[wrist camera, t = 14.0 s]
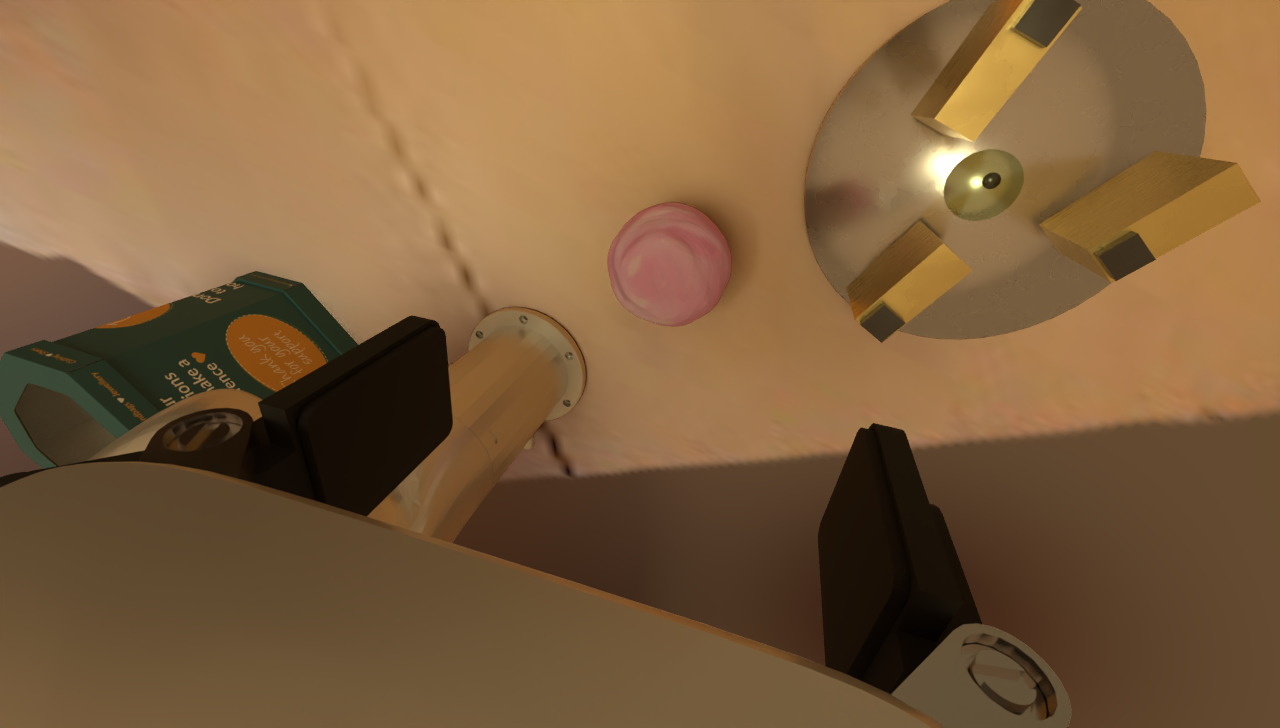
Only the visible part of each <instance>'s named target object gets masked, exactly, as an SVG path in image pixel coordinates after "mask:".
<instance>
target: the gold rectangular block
mask: <svg viewBox="0 0 1280 728" xmlns="http://www.w3.org/2000/svg"><path fill="white" fill-rule="evenodd" d="M1080 6H1081V4H1079V3H1077V2H1076V1H1074V0H997V1H994V2H992V3H991V4H990V5H989V7H988V8H987V9H986V11H985V12H984V13H983V15H982V16H981V18H980V19H979V20H978V22H977V23H976V25H975V26H974V27H973V29H972V30H971V31H970V33H969V34H968V36H967V37H966V38H965V40H964V41H963V43H962V44H961V45H960V47H959V48H958V49H957V51H956V52H955V54H954V55H953V56H952V58H951V59H950V61H949V62H948V63H947V65H946V66H945V67H944V69H943V70H942V72H941V73H940V74H939V76H938V77H937V79H936V80H935V81H934V83H933V84H932V85H931V87H930V88H929V90H928V91H927V92H926V94H925V95H924V97H923V98H922V99H921V101H920V102H919V103H918V105H917V106H916V108H915V109H914V110H913V112H912V113H911V116H913V117H914V118H916V119H918V120H920V121H921V122H923V123H925V124H926V125H928V126H930V127H931V128H933V129H935V130H936V131H938V132H940V133H941V134H944V135H947V136H951V137H955V138H959V139H963V140H967V141H971V142H974V141H975V140H976V138H977V137H978V136H979V135H980V134H981V132H982V131H983V130H984V129H985V127H986V126H987V125H988V124H989V122H990V121H991V120H992V119H993V117H994V116H995V115H996V114H997V113H998V111H999V110H1000V109H1001V108H1002V106H1003V105H1004V104H1005V103H1006V101H1007V100H1008V99H1009V98H1010V97H1011V95H1012V94H1013V93H1014V92H1015V90H1016V89H1017V88H1018V87H1019V85H1020V84H1021V83H1022V82H1023V81H1024V79H1025V78H1026V77H1027V76H1028V74H1029V73H1030V72H1031V71H1032V69H1033V68H1034V67H1035V66H1036V64H1037V63H1038V62H1039V61H1040V60H1041V58H1042V57H1043V56H1044V55H1045V53H1046V52H1047V51H1048V50H1049V48H1050V47H1051V46H1052V45H1053V44H1054V42H1055V41H1056V40H1057V39H1058V37H1059V36H1060V35H1061V34H1062V32H1063V31H1064V30H1065V29H1066V27H1067V26H1068V25H1069V24H1070V23H1071V21H1072V20H1073V19H1074V18H1075V16H1076V15H1077V14H1078V13H1079V11H1080V10H1081V9H1082V7H1080Z"/></svg>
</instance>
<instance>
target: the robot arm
mask: <svg viewBox="0 0 1280 728" xmlns="http://www.w3.org/2000/svg"><path fill="white" fill-rule="evenodd" d="M585 381H586V371H585V364H584V361H583V358H582V355H581V352H580V350H579V348H578V346H577V345H576V343H575V341H574V340H573V339H572V337H571V336H570V335H569V333H568V332H567V331H566V330H565V329H564V328H563V327H561V326H560V325H559V324H558V323H557V322H555V321H554V320H552V319H551V318H549V317H548V316H546V315H544V314H542V313H539V312H537V311H534V310H530V309H527V308H518V307H511V308H503V309H500V310H498V311H495V312H493V313H491V314H490V315H488V316H487V317H485V318H484V319H483V320H482V321H480V322H479V323H478V324H477V326H476V327H475V328H474V330H473V332H472V334H471V337H470V339H469V345H468V352H467V353H466V354H465V355H463V356H462V357H461V358H460V359H458V360H457V361H456V362H454V363H453V364H452V365H451V366H449V367H448V358H447V346H446V335H445V332H444V330H443V329H441V328H440V326H439V324H438V323H437V322H436V321H434V320H430V319H425V318H421V317H417V316H409V317H407V318H405V319H403V320H402V321H400V322H398V323H396V324H395V325H393V326H391V327H389V328H388V329H386V330H384V331H382V332H381V333H379V334H377V335H375V336H374V337H372V338H370V339H368V340H367V341H365V342H363V343H361V344H360V345H358V346H356V347H354V348H353V349H351V350H349V351H347V352H346V353H344V354H342V355H340V356H339V357H337V358H335V359H333V360H332V361H330V362H328V363H326V364H325V365H323V366H321V367H319V368H318V369H316V370H314V371H312V372H311V373H309V374H307V375H305V376H304V377H302V378H300V379H298V380H297V381H295V382H293V383H291V384H290V385H288V386H286V387H284V388H283V389H281V390H279V391H277V392H276V393H274V394H272V395H270V396H269V397H267V398H265V399H263V400H262V399H260V398H259V397H257V396H255V395H253V394H251V393H248V392H245V391H242V390H236V389H216V390H210V391H206V392H202V393H199V394H196V395H193V396H191V397H188V398H186V399H183V400H181V401H179V402H177V403H175V404H173V405H171V406H170V407H168V408H166V409H164V410H162V411H160V412H158V413H156V414H155V415H153V416H152V417H150V418H148V419H147V420H145V421H144V422H142V423H140V424H139V425H137V426H136V427H134V428H133V429H131V430H130V431H128V432H127V433H125V434H124V435H122V436H121V437H120V438H118V439H117V440H115V441H114V442H112V443H111V444H109V445H108V446H107V447H105V448H104V449H102V450H101V451H99V452H98V453H97V454H95V455H94V456H92V457H91V458H90V459H88V460H87V461H83V462H78V463H73V464H67V465H62V466H56V467H51V468H45V469H40V470H34V471H30V472H20V473H15V474H10V475H6V476H3V477H0V728H1068V725H1069V722H1070V717H1071V713H1072V711H1071V706H1070V701H1069V697H1068V694H1067V692H1066V691H1065V689H1064V687H1063V685H1062V683H1061V682H1060V679H1059V678H1058V677H1057V675H1056V674H1055V673H1054V672H1053V671H1052V669H1051V668H1050V667H1049V666H1048V665H1047V663H1046V662H1045V661H1044V660H1043V659H1042V658H1041V657H1040V656H1038V655H1037V654H1036V653H1035V652H1034V651H1033V650H1032V649H1031V648H1029V647H1028V646H1026V645H1025V644H1024V643H1022V642H1021V641H1019V640H1018V639H1016V638H1015V637H1013V636H1011V635H1010V634H1008V633H1005V632H1003V631H1001V630H999V629H997V628H994V627H991V626H987V625H982V622H981V619H980V616H979V614H978V611H977V608H976V606H975V603H974V600H973V597H972V594H971V592H970V589H969V586H968V583H967V580H966V578H965V575H964V572H963V569H962V567H961V564H960V561H959V558H958V556H957V553H956V550H955V547H954V545H953V542H952V540H951V537H950V534H949V531H948V528H947V526H946V523H945V520H944V517H943V514H942V513H941V511H940V509H939V508H938V507H937V506H935V505H932V504H929V501H928V498H927V495H926V492H925V489H924V486H923V484H922V481H921V478H920V475H919V472H918V469H917V466H916V463H915V460H914V457H913V454H912V451H911V448H910V445H909V442H908V439H907V436H906V434H905V432H904V431H903V430H901V429H896V428H892V427H888V426H883V425H879V424H875V423H873V424H872V425H871V426H870V427H869V429H865V428H860V429H859V430H858V432H857V434H856V437H855V439H854V442H853V444H852V447H851V449H850V452H849V454H848V457H847V459H846V461H845V464H844V466H843V469H842V471H841V474H840V476H839V479H838V481H837V484H836V486H835V488H834V491H833V493H832V496H831V498H830V501H829V504H828V506H827V509H826V511H825V513H824V516H823V518H822V520H821V523H820V527H819V533H818V548H819V564H820V580H821V596H822V613H823V631H824V646H825V663H826V666H823V665H821V664H818V663H815V662H813V661H810V660H808V659H805V658H802V657H800V656H797V655H794V654H791V653H788V652H785V651H782V650H779V649H777V648H774V647H771V646H768V645H765V644H762V643H759V642H756V641H753V640H750V639H747V638H744V637H741V636H738V635H735V634H732V633H729V632H726V631H723V630H721V629H718V628H715V627H712V626H709V625H706V624H703V623H700V622H697V621H693V620H690V619H687V618H684V617H681V616H678V615H675V614H672V613H669V612H666V611H663V610H659V609H656V608H653V607H650V606H647V605H644V604H641V603H638V602H635V601H632V600H628V599H625V598H622V597H619V596H616V595H613V594H610V593H607V592H603V591H601V590H597V589H594V588H591V587H588V586H585V585H582V584H579V583H576V582H573V581H569V580H566V579H563V578H560V577H557V576H554V575H551V574H547V573H544V572H541V571H538V570H535V569H532V568H529V567H525V566H522V565H519V564H516V563H513V562H510V561H506V560H503V559H500V558H497V557H494V556H491V555H487V554H484V553H481V552H478V551H475V550H472V549H468V548H465V547H462V546H459V545H456V544H453V543H452V542H453V541H454V539H455V538H456V536H457V535H458V533H459V532H460V530H461V529H462V527H463V526H464V525H465V523H466V522H467V521H468V519H469V518H470V517H471V515H472V514H473V513H474V511H475V510H476V509H477V507H478V506H479V505H480V503H481V502H482V501H483V499H484V498H485V497H486V495H487V494H488V493H489V492H490V490H491V489H492V488H493V486H494V485H495V484H496V483H497V481H498V480H499V479H500V477H501V476H502V475H503V473H504V472H505V471H506V470H507V468H508V467H509V466H510V464H511V463H512V462H513V460H514V459H515V458H516V457H517V455H518V454H519V453H520V451H521V450H522V449H531V448H533V447H534V434H535V432H536V431H537V430H538V428H539V427H540V426H541V424H542V423H543V422H544V421H550V420H554V419H557V418H560V417H562V416H564V415H565V414H567V413H568V412H569V411H570V410H572V408H573V407H574V406H575V405H576V403H577V402H578V400H579V399H580V397H581V395H582V394H583V390H584V387H585Z"/></svg>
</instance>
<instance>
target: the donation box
mask: <svg viewBox="0 0 1280 728" xmlns="http://www.w3.org/2000/svg"><path fill="white" fill-rule="evenodd" d="M356 346H358V344H357V343H356V342H355V341H354V340H353V339H352V338H351V337H350V336H349V335H348V333H347V332H346V331H345V330H344V329H343V328H342V326H341V325H340V324H339V323H338V322H337V321H336V320H335V319H334V318H333V317H332V316H331V315H330V313H329V312H328V311H327V310H326V309H325V308H324V307H323V306H322V305H321V303H320V302H319V301H318V300H317V299H316V298H315V297H314V295H313V294H312V293H311V292H310V291H309V290H308V289H307V288H306V287H305V285H304V284H303V283H299V282H296V281H292V280H288V279H284V278H280V277H276V276H272V275H269V274H265V273H261V272H257V271H255V272H252V273H249V274H246V275H243V276H240V277H237V278H236V279H235V280H234V281H233V282H232V283H229V284H226V285H223V286H220V287H217V288H214V289H211V290H208V291H205V292H202V293H199V294H196V295H193V296H190V297H187V298H184V299H181V300H178V301H175V302H172V303H169V304H166V305H163V306H160V307H157V308H154V309H151V310H148V311H145V312H142V313H139V314H135V315H132V316H129V317H126V318H123V319H120V320H118V321H114V322H111V323H108V324H105V325H102V326H99V327H96V328H93V329H90V330H87V331H84V332H81V333H78V334H75V335H72V336H69V337H66V338H63V339H60V340H57V341H54V342H48V341H46V340H42V341H39V342H36V343H33V344H30V345H27V346H24V347H20V348H17V349H14V350H11V351H8V352H5V353H4V354H3V356H2V358H1V361H0V417H1V418H2V420H3V421H4V423H5V425H6V426H7V428H8V430H9V431H10V433H11V435H12V436H13V438H14V440H15V441H16V443H17V444H18V446H19V448H20V449H21V451H23V452H24V453H25V454H26V455H27V456H28V457H30V458H31V459H32V460H33V461H34V462H36V463H37V464H38V465H39V466H40V467H41V468H43V469H45V468H51V467H56V466H62V465H67V464H73V463H78V462H83V461H87V460H88V459H90V458H91V457H92V456H94V455H95V454H97V453H98V452H99V451H101V450H102V449H104V448H105V447H107V446H108V445H109V444H111V443H112V442H114V441H115V440H117V439H118V438H120V437H121V436H122V435H124V434H125V433H127V432H128V431H130V430H131V429H133V428H134V427H136V426H137V425H139V424H140V423H142V422H144V421H145V420H147V419H148V418H150V417H152V416H153V415H155V414H156V413H158V412H160V411H162V410H164V409H166V408H168V407H170V406H171V405H173V404H175V403H177V402H179V401H181V400H183V399H186V398H188V397H191V396H193V395H196V394H199V393H202V392H206V391H210V390H216V389H236V390H242V391H245V392H248V393H251V394H253V395H255V396H257V397H259V398H260V399H262V400H263V399H265V398H267V397H269V396H270V395H272V394H274V393H276V392H277V391H279V390H281V389H283V388H284V387H286V386H288V385H290V384H291V383H293V382H295V381H297V380H298V379H300V378H302V377H304V376H305V375H307V374H309V373H311V372H312V371H314V370H316V369H318V368H319V367H321V366H323V365H325V364H326V363H328V362H330V361H332V360H333V359H335V358H337V357H339V356H340V355H342V354H344V353H346V352H347V351H349V350H351V349H353V348H354V347H356Z"/></svg>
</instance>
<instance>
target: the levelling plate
mask: <svg viewBox="0 0 1280 728" xmlns="http://www.w3.org/2000/svg"><path fill="white" fill-rule="evenodd" d="M994 1H997V0H951V1H949V2H947V3H945V4H943V5H942V6H940V7H938V8H936V9H934V10H932V11H930V12H928V13H927V14H925V15H923V16H922V17H920V18H918V19H917V20H915V21H914V22H912V23H911V24H910V25H908V26H907V27H905V28H904V29H902V30H901V31H899V32H898V33H896V34H895V35H894V36H893V37H891V38H890V39H889V40H888V41H887V42H885V43H884V44H883V45H882V46H881V47H880V48H878V49H877V50H876V51H875V52H874V53H873V54H872V55H871V56H870V57H869V58H868V59H867V60H866V61H865V62H864V63H863V64H862V65H861V66H860V67H859V69H858V70H857V71H856V72H855V73H854V74H853V75H852V77H851V78H850V79H849V81H848V82H847V83H846V85H845V86H844V87H843V89H842V90H841V91H840V93H839V94H838V96H837V97H836V99H835V101H834V102H833V104H832V106H831V107H830V109H829V111H828V112H827V114H826V116H825V118H824V120H823V122H822V125H821V127H820V129H819V131H818V133H817V136H816V139H815V142H814V145H813V148H812V151H811V154H810V157H809V162H808V167H807V172H806V177H805V192H804V204H805V219H806V226H807V230H808V235H809V240H810V244H811V246H812V249H813V252H814V255H815V257H816V260H817V262H818V264H819V265H820V267H821V269H822V271H823V273H824V275H825V276H826V278H827V279H828V280H829V282H830V283H831V284H832V286H833V287H834V288H835V290H836V291H837V292H838V293H839V294H840V295H841V296H842V297H843V298H844V299H845V300H846V301H847V302H848V303H849V304H850V305H851V303H850V300H849V296H848V292H847V289H846V287H847V286H848V285H849V284H850V283H851V282H852V281H853V280H854V279H856V278H857V277H858V276H859V275H860V274H861V273H862V272H863V271H864V270H865V269H866V268H868V267H869V266H870V265H871V264H872V263H873V262H874V261H875V260H876V259H877V258H879V257H880V256H881V255H882V254H883V253H884V252H885V251H886V250H887V249H888V248H890V247H891V246H892V245H893V244H894V243H895V242H896V241H897V240H898V239H899V238H901V237H902V236H903V235H904V234H905V233H906V232H907V231H908V230H909V229H910V228H911V227H913V226H914V225H915V224H916V223H917V222H918V221H919V220H920V221H921V222H922V223H923V224H924V225H925V226H926V227H928V228H929V229H930V230H931V231H932V232H933V233H934V234H935V235H936V236H938V237H939V238H940V239H941V240H942V241H943V242H944V243H945V244H946V245H947V246H948V247H949V248H950V249H952V250H953V251H954V252H955V253H956V254H957V255H958V256H959V257H960V258H961V259H962V260H963V261H964V262H965V263H966V264H967V265H968V266H969V267H970V268H971V269H972V270H973V271H971V272H970V273H969V274H968V275H966V276H965V277H964V278H963V279H961V280H960V281H959V282H958V283H956V284H955V285H954V286H953V287H951V288H950V289H949V290H948V291H946V292H945V293H944V294H943V295H941V296H940V297H939V298H938V299H936V300H935V301H934V302H933V303H931V304H930V305H929V306H928V307H926V308H925V309H924V310H923V311H921V312H920V313H919V314H918V315H916V316H915V317H914V318H913V319H911V320H910V321H909V322H908V323H906V324H905V325H904V326H903V327H901V328H900V329H899V330H898V331H901V332H905V333H909V334H913V335H916V336H922V337H929V338H936V339H972V338H984V337H990V336H995V335H1001V334H1006V333H1010V332H1013V331H1017V330H1021V329H1024V328H1028V327H1031V326H1033V325H1036V324H1039V323H1041V322H1044V321H1046V320H1049V319H1052V318H1054V317H1056V316H1058V315H1060V314H1062V313H1064V312H1066V311H1068V310H1070V309H1072V308H1074V307H1076V306H1078V305H1079V304H1081V303H1083V302H1084V301H1086V300H1087V299H1089V298H1091V297H1092V296H1094V295H1096V294H1097V293H1099V292H1100V291H1101V290H1103V289H1104V288H1105V287H1107V286H1108V285H1109V284H1111V283H1112V282H1109V281H1107V280H1106V279H1104V278H1102V277H1101V276H1099V275H1097V274H1095V273H1094V272H1092V271H1090V270H1089V269H1087V268H1085V267H1083V266H1082V265H1080V264H1078V263H1077V262H1075V261H1073V260H1071V259H1070V258H1068V257H1066V256H1065V255H1063V254H1061V253H1059V252H1058V250H1057V249H1056V248H1055V246H1054V245H1053V243H1052V242H1051V241H1050V239H1049V238H1048V237H1047V235H1046V234H1045V232H1044V231H1043V230H1042V228H1041V227H1040V226H1039V224H1040V223H1042V222H1043V221H1045V220H1047V219H1048V218H1050V217H1051V216H1053V215H1055V214H1056V213H1058V212H1059V211H1061V210H1063V209H1064V208H1066V207H1067V206H1069V205H1070V204H1072V203H1074V202H1075V201H1077V200H1078V199H1080V198H1082V197H1083V196H1085V195H1086V194H1088V193H1089V192H1091V191H1093V190H1094V189H1096V188H1097V187H1099V186H1101V185H1102V184H1104V183H1105V182H1107V181H1108V180H1110V179H1112V178H1113V177H1115V176H1116V175H1118V174H1120V173H1121V172H1123V171H1124V170H1126V169H1128V168H1129V167H1131V166H1132V165H1134V164H1135V163H1137V162H1139V161H1140V160H1142V159H1143V158H1145V157H1147V156H1148V155H1150V154H1151V153H1153V152H1154V151H1159V152H1166V153H1173V154H1179V155H1186V156H1193V157H1199V158H1200V154H1201V149H1202V145H1203V141H1204V134H1205V122H1206V103H1205V92H1204V84H1203V81H1202V77H1201V74H1200V70H1199V67H1198V63H1197V60H1196V58H1195V56H1194V55H1193V53H1192V51H1191V49H1190V47H1189V45H1188V43H1187V41H1186V39H1185V38H1184V36H1183V35H1182V34H1181V33H1180V31H1179V30H1178V29H1177V28H1176V26H1175V25H1174V24H1173V23H1172V21H1171V20H1170V19H1169V18H1168V17H1167V16H1165V15H1164V14H1163V13H1162V12H1161V11H1159V10H1158V9H1157V8H1156V7H1155V6H1153V5H1152V4H1151V3H1150V2H1148V1H1146V0H1074V1H1076V2H1077V3H1079V4H1081V6H1080V7H1082V9H1081V10H1080V11H1079V13H1078V14H1077V15H1076V16H1075V18H1074V19H1073V20H1072V21H1071V23H1070V24H1069V25H1068V26H1067V27H1066V29H1065V30H1064V31H1063V32H1062V34H1061V35H1060V36H1059V37H1058V39H1057V40H1056V41H1055V42H1054V44H1053V45H1052V46H1051V47H1050V48H1049V50H1048V51H1047V52H1046V53H1045V55H1044V56H1043V57H1042V58H1041V60H1040V61H1039V62H1038V63H1037V64H1036V66H1035V67H1034V68H1033V69H1032V71H1031V72H1030V73H1029V74H1028V76H1027V77H1026V78H1025V79H1024V81H1023V82H1022V83H1021V84H1020V85H1019V87H1018V88H1017V89H1016V90H1015V92H1014V93H1013V94H1012V95H1011V97H1010V98H1009V99H1008V100H1007V101H1006V103H1005V104H1004V105H1003V106H1002V108H1001V109H1000V110H999V111H998V113H997V114H996V115H995V116H994V117H993V119H992V120H991V121H990V122H989V124H988V125H987V126H986V127H985V129H984V130H983V131H982V132H981V134H980V135H979V136H978V137H977V138H976V140H975V141H974V142H971V141H967V140H963V139H959V138H955V137H951V136H947V135H944V134H941V133H940V132H938V131H936V130H935V129H933V128H931V127H930V126H928V125H926V124H925V123H923V122H921V121H920V120H918V119H916V118H914V117H913V116H911V113H912V112H913V110H914V109H915V108H916V106H917V105H918V103H919V102H920V101H921V99H922V98H923V97H924V95H925V94H926V92H927V91H928V90H929V88H930V87H931V85H932V84H933V83H934V81H935V80H936V79H937V77H938V76H939V74H940V73H941V72H942V70H943V69H944V67H945V66H946V65H947V63H948V62H949V61H950V59H951V58H952V56H953V55H954V54H955V52H956V51H957V49H958V48H959V47H960V45H961V44H962V43H963V41H964V40H965V38H966V37H967V36H968V34H969V33H970V31H971V30H972V29H973V27H974V26H975V25H976V23H977V22H978V20H979V19H980V18H981V16H982V15H983V13H984V12H985V11H986V9H987V8H988V7H989V5H990V4H991V3H992V2H994Z"/></svg>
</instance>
